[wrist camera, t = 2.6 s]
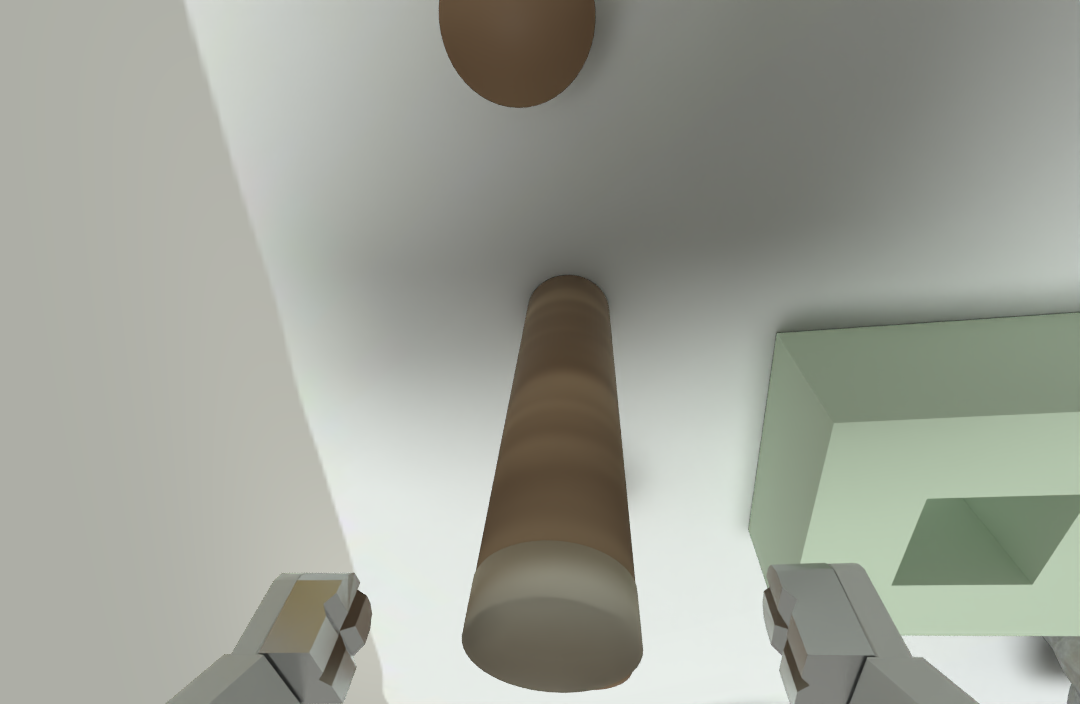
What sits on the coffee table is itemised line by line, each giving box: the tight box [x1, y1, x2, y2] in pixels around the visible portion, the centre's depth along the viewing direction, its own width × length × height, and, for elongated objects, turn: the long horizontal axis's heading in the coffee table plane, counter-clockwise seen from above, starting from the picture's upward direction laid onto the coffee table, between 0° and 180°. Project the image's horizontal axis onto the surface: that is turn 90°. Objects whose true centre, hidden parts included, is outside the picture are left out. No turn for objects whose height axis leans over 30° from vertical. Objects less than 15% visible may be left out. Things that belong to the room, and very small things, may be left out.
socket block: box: [748, 312, 1080, 636], centre depth 18 cm, size 11×11×5 cm
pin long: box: [462, 275, 643, 693], centre depth 14 cm, size 3×3×12 cm
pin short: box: [439, 0, 595, 108], centre depth 12 cm, size 3×3×5 cm
